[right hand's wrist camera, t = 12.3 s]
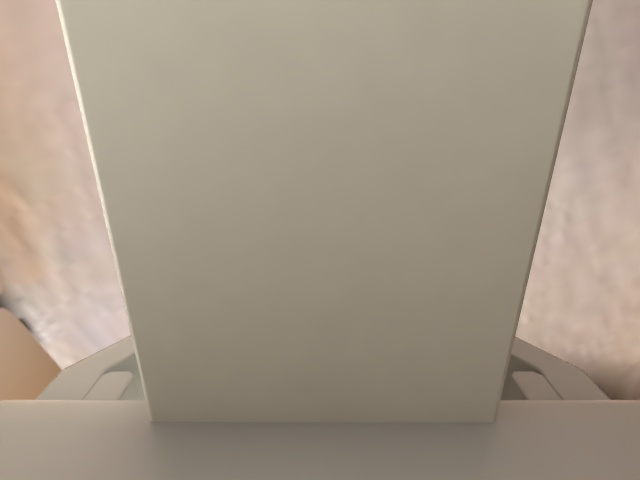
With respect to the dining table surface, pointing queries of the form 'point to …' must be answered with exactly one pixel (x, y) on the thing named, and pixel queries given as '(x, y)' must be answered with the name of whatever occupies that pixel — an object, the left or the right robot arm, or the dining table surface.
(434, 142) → the bar
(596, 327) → the dining table surface
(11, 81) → the dining table surface
